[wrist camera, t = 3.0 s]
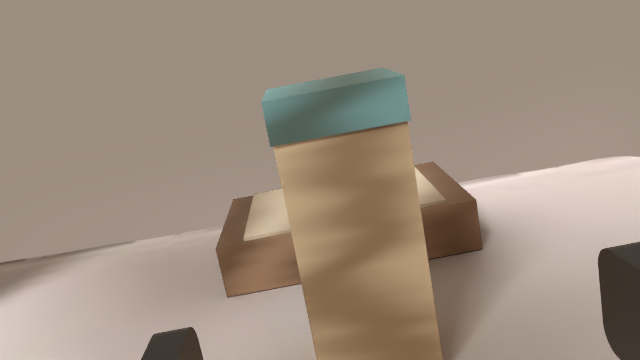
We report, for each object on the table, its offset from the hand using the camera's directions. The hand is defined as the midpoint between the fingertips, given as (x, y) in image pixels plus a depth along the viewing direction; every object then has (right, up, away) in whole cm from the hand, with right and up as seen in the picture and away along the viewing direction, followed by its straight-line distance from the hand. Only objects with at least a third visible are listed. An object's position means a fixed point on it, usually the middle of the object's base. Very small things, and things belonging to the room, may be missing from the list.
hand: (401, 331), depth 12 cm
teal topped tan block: (+1, -4, +13) cm, 13 cm away
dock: (0, -1, +26) cm, 26 cm away
